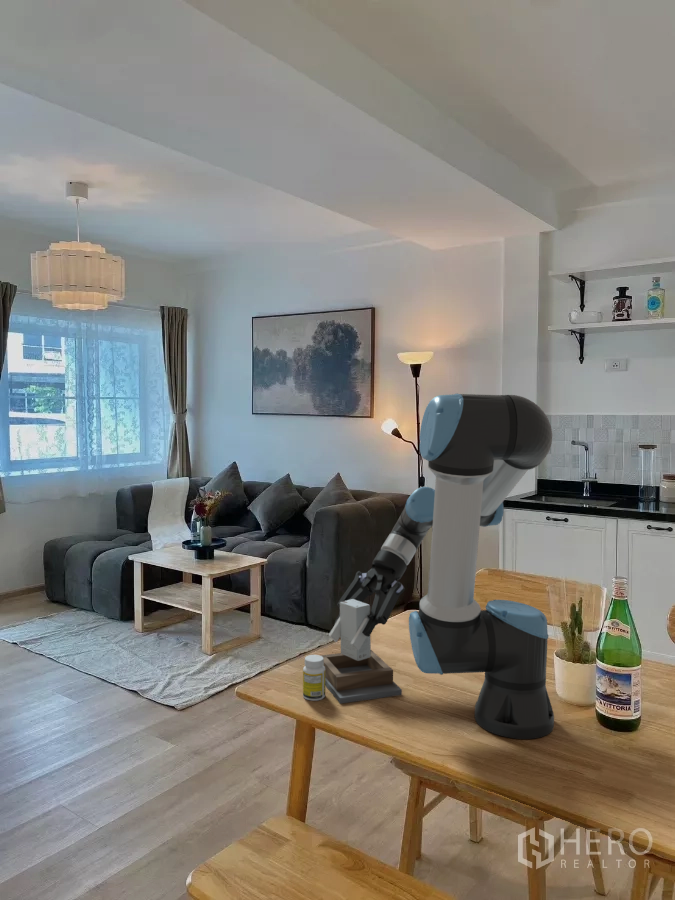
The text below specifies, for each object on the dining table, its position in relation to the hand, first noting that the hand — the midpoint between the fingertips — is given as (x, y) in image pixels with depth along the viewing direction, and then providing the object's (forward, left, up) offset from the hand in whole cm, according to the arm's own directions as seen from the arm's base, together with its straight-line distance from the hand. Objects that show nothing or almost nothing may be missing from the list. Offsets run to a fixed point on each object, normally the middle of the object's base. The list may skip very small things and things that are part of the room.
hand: (343, 642), depth 154 cm
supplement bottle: (-4, +8, -10) cm, 13 cm away
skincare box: (+2, -3, -4) cm, 6 cm away
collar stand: (+1, -3, -9) cm, 10 cm away
